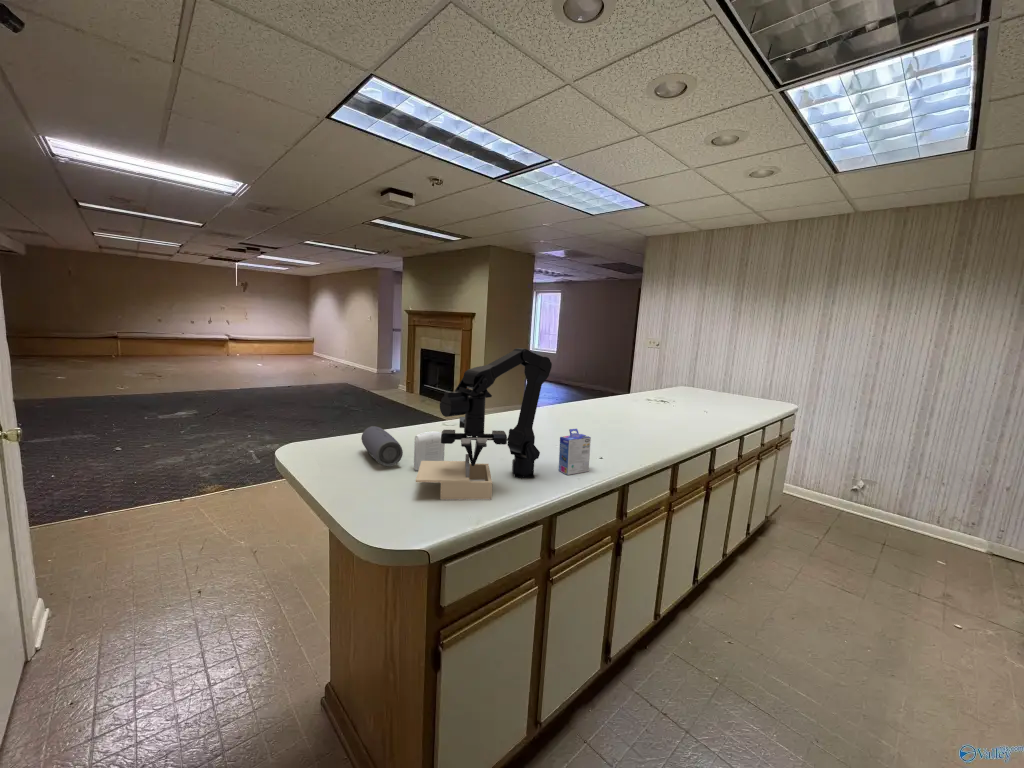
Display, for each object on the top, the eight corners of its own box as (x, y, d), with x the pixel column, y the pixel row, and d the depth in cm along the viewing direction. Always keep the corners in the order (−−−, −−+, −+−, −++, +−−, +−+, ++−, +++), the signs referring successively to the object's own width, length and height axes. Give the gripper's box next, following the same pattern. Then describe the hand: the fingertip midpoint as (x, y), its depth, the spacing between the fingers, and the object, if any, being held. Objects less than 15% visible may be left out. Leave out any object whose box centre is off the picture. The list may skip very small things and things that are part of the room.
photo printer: (440, 463, 143) (441, 428, 141) (445, 467, 139) (447, 431, 138) (411, 468, 137) (412, 431, 135) (416, 472, 133) (417, 434, 132)
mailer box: (487, 478, 131) (488, 463, 130) (491, 499, 115) (492, 482, 114) (442, 478, 129) (443, 463, 128) (440, 499, 113) (440, 482, 112)
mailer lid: (468, 463, 129) (468, 451, 129) (469, 482, 113) (469, 469, 113) (421, 462, 128) (421, 451, 127) (415, 482, 111) (415, 469, 111)
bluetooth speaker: (404, 468, 137) (405, 438, 135) (375, 472, 132) (376, 441, 131) (385, 449, 156) (385, 423, 154) (359, 452, 151) (359, 425, 150)
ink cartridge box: (579, 466, 147) (582, 427, 145) (589, 471, 143) (592, 430, 141) (557, 470, 142) (559, 429, 140) (567, 475, 137) (570, 433, 136)
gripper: (504, 408, 128) (501, 457, 130) (443, 407, 126) (441, 456, 128) (508, 416, 117) (505, 469, 119) (441, 414, 115) (440, 468, 117)
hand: (472, 465), depth 121 cm, fingers closed
